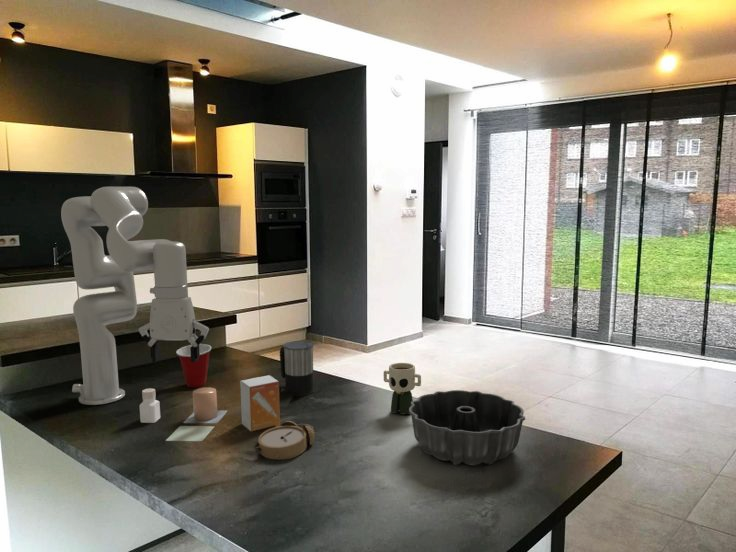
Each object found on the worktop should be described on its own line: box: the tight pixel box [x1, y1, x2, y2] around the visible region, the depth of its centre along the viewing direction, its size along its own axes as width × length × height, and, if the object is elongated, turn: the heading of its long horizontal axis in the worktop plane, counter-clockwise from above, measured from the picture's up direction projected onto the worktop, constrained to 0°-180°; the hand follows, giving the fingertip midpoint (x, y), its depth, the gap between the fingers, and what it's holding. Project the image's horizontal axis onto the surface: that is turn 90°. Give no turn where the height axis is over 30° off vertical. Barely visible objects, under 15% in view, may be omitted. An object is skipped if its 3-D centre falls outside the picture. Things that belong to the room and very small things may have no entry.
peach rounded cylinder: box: [192, 386, 218, 421], centre depth 154 cm, size 6×6×7 cm
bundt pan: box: [408, 389, 526, 466], centre depth 135 cm, size 26×26×10 cm
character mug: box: [383, 362, 422, 415], centre depth 158 cm, size 11×7×13 cm, turn 66°
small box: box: [239, 375, 281, 432], centre depth 148 cm, size 8×6×13 cm
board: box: [165, 409, 228, 442], centre depth 149 cm, size 14×22×2 cm, turn 176°
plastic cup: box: [175, 343, 212, 388], centre depth 185 cm, size 11×11×12 cm
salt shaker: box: [139, 387, 161, 424], centre depth 152 cm, size 4×4×10 cm
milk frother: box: [279, 340, 316, 397], centre depth 175 cm, size 14×16×15 cm
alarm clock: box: [255, 420, 317, 461], centre depth 138 cm, size 11×5×15 cm
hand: (175, 361), depth 143 cm, fingers open, 9 cm apart
